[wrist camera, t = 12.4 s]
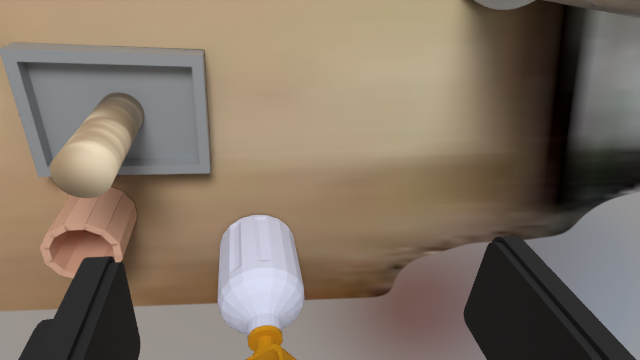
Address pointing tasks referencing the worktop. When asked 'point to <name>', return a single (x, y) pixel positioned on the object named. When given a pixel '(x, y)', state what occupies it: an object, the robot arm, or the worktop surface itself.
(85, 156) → the dowel
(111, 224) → the cup
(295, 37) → the worktop surface
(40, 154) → the tray
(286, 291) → the soap bottle
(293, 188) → the worktop surface
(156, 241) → the worktop surface
